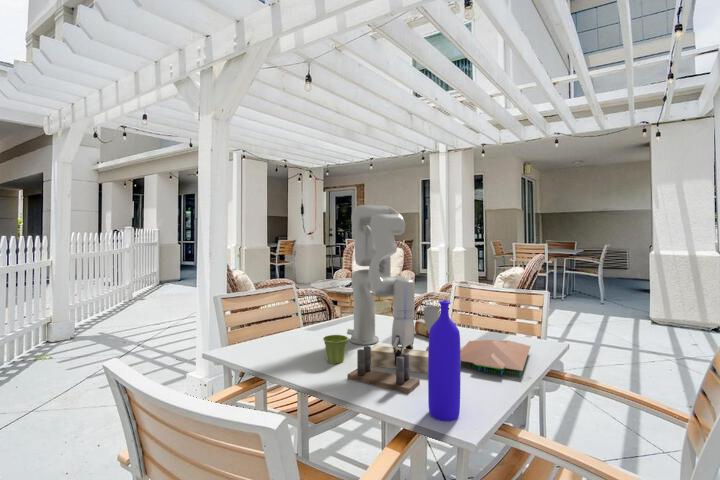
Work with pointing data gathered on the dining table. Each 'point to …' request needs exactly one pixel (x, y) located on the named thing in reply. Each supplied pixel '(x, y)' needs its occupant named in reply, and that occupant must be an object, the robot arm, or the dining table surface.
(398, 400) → the dining table surface
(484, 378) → the dining table surface
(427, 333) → the snack package
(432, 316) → the chalice
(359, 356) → the peg stand
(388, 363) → the shelf board
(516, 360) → the house
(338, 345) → the plant pot
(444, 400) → the bottle
